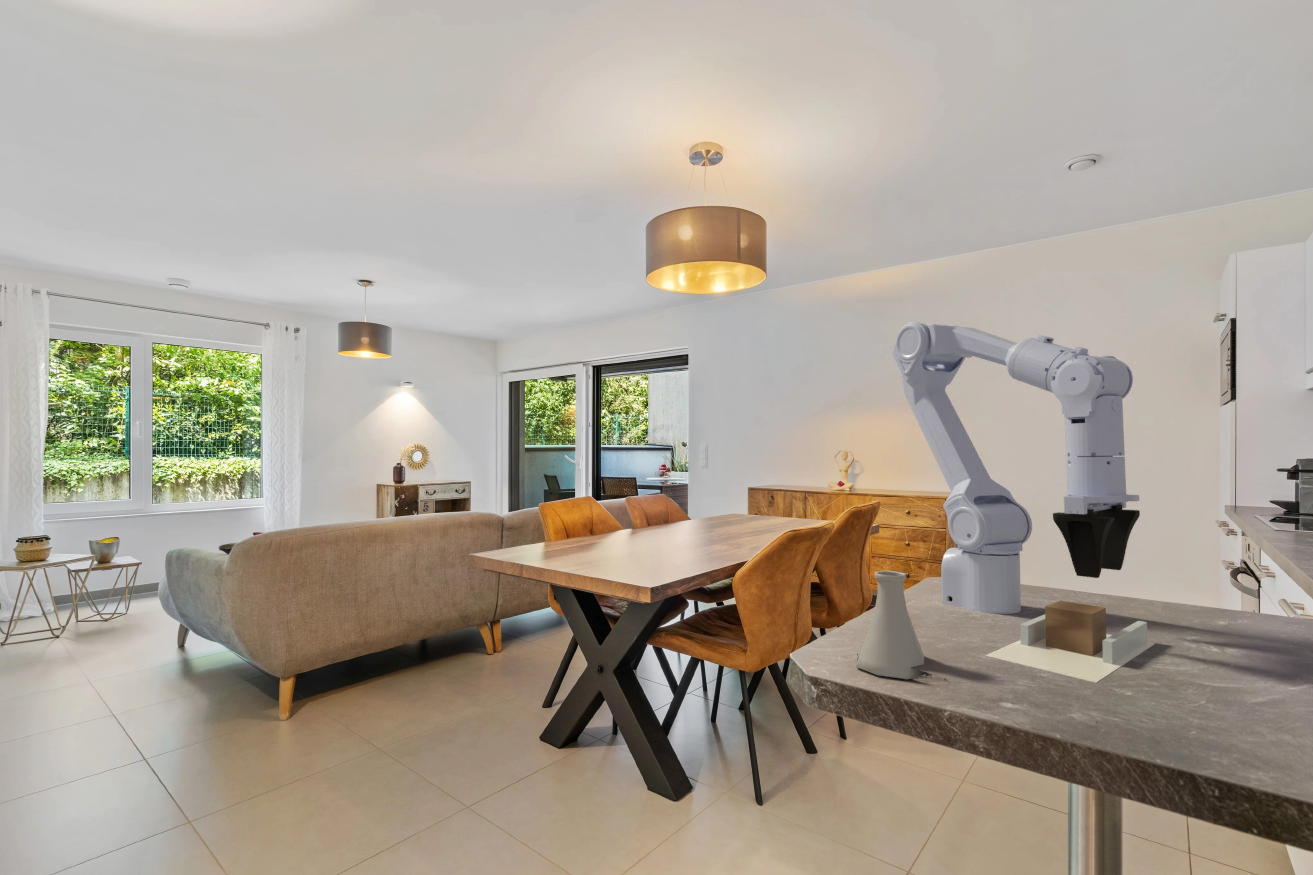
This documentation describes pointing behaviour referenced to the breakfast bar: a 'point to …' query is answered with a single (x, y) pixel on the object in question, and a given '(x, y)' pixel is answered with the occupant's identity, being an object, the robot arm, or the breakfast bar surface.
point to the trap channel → (1069, 663)
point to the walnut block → (1075, 627)
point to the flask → (891, 633)
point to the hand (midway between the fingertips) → (1099, 572)
